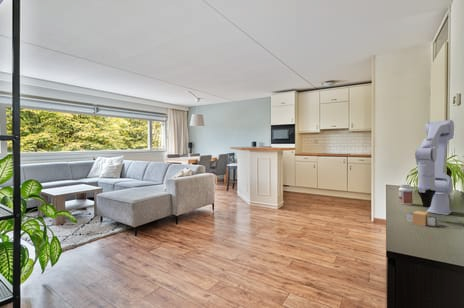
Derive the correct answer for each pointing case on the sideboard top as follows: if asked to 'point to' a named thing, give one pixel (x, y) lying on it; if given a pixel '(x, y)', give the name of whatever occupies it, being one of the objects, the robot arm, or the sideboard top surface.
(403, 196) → the pill bottle
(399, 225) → the sideboard top surface
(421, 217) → the orange block
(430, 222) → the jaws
